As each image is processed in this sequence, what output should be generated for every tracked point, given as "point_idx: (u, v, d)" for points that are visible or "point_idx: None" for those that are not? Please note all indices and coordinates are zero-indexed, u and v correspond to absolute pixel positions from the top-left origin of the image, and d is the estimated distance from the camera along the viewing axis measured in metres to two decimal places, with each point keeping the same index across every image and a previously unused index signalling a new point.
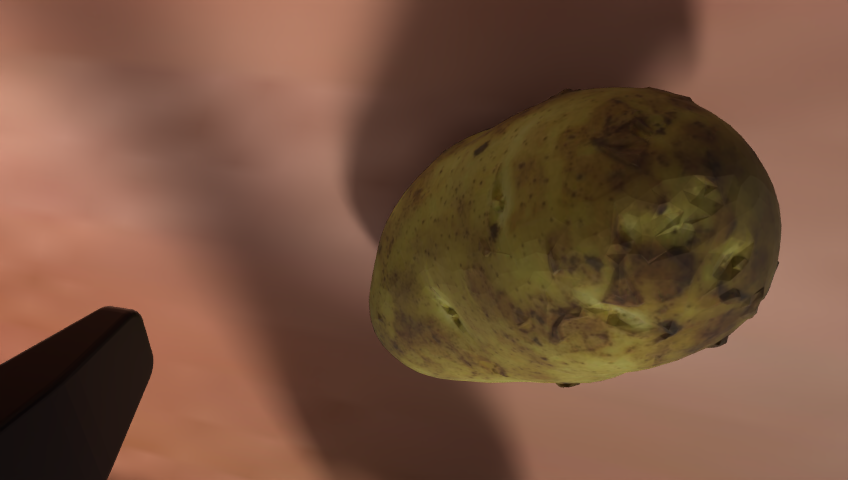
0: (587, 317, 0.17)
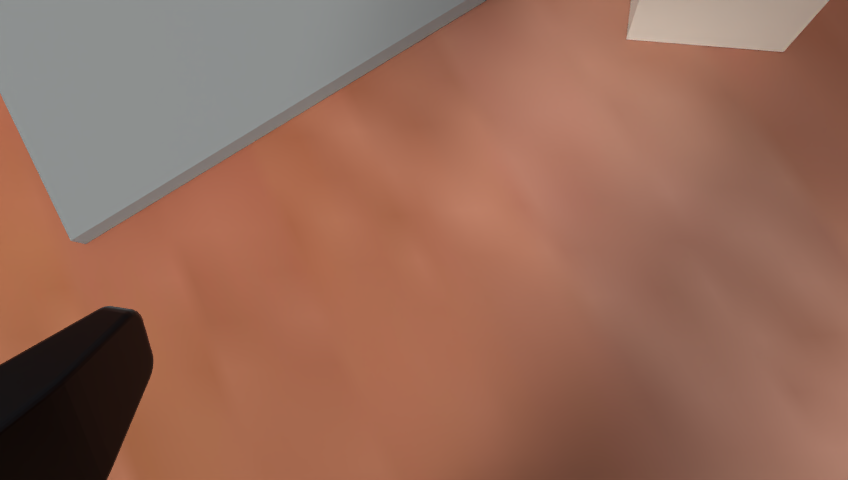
0: None
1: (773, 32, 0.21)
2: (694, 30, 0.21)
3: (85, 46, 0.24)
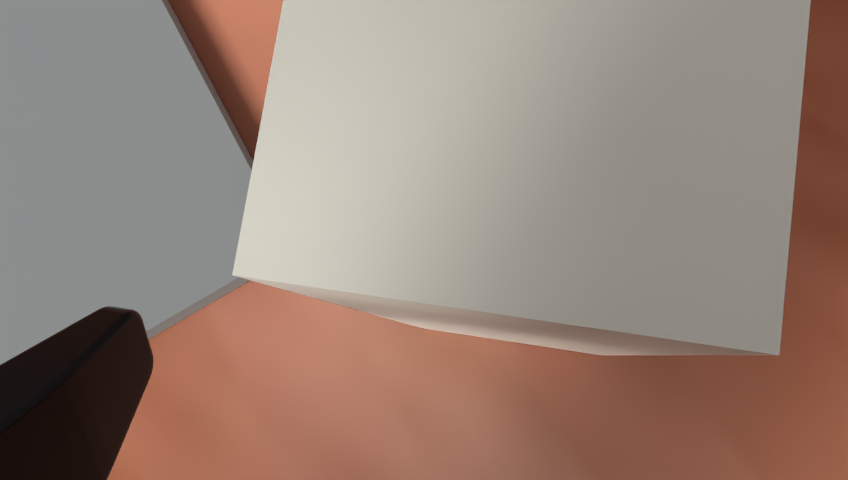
0: None
1: None
2: None
3: None
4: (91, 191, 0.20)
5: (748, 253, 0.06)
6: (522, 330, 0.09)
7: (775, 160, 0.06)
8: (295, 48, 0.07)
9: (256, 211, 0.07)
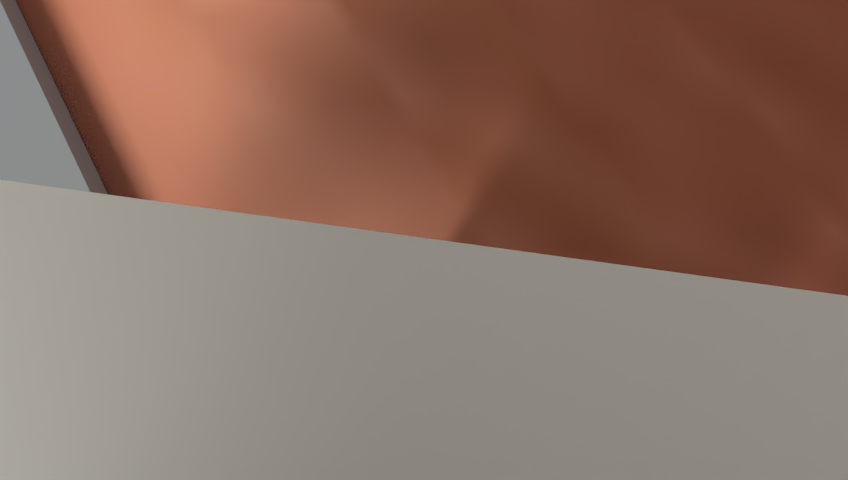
0: None
1: None
2: None
3: None
4: None
5: None
6: None
7: None
8: None
9: None
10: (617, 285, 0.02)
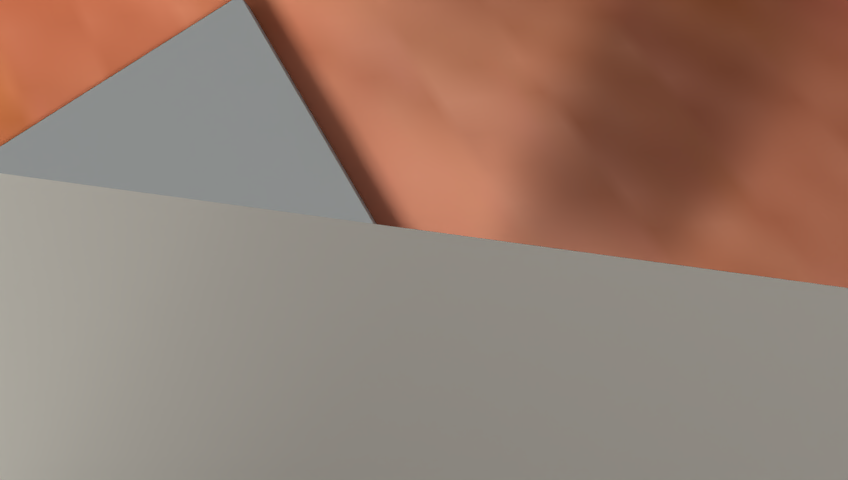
0: None
1: None
2: None
3: None
4: None
5: None
6: None
7: None
8: None
9: None
10: (629, 279, 0.02)
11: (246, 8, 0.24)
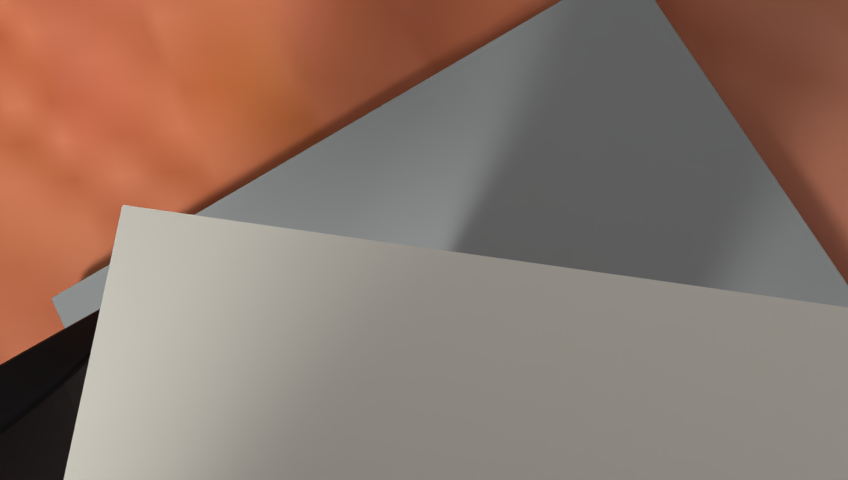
0: None
1: None
2: None
3: None
4: None
5: None
6: None
7: None
8: None
9: None
10: (602, 286, 0.04)
11: None
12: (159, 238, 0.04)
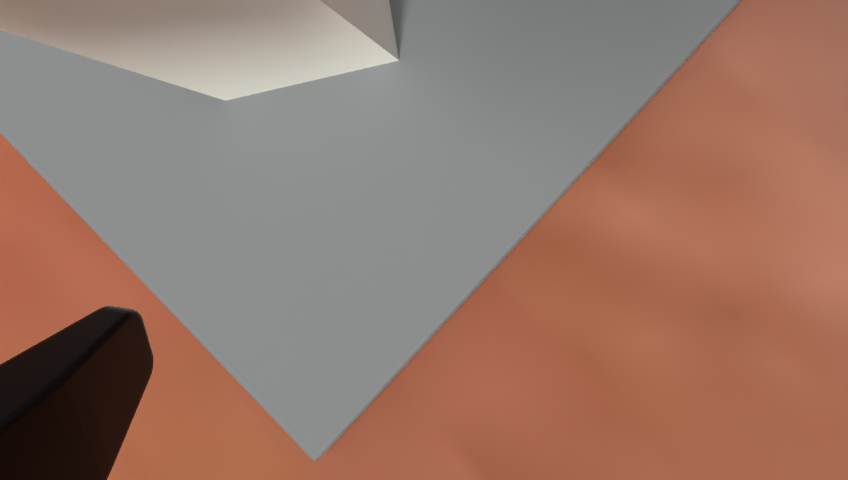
0: None
1: (353, 54, 0.16)
2: (272, 77, 0.17)
3: (242, 210, 0.18)
4: None
5: None
6: None
7: None
8: None
9: None
10: None
11: None
12: None
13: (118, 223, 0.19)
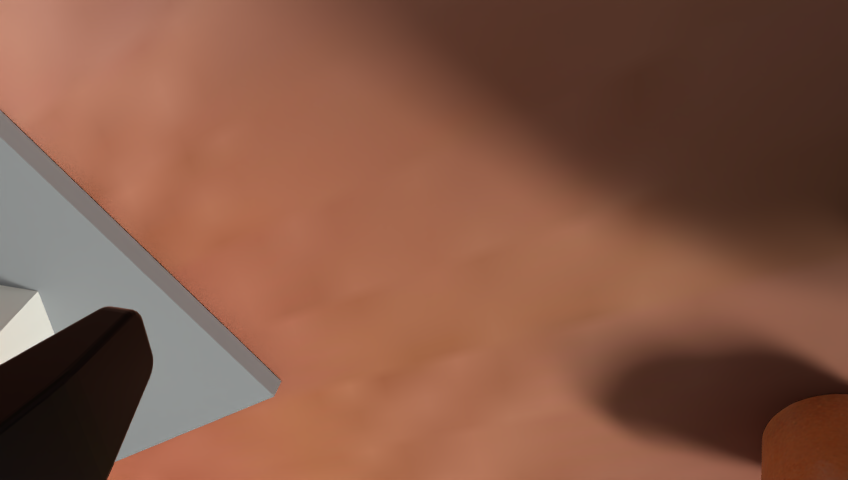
0: None
1: (22, 327, 0.28)
2: None
3: None
4: None
5: None
6: None
7: None
8: None
9: None
10: None
11: None
12: None
13: (142, 437, 0.33)
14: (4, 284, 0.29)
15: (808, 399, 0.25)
